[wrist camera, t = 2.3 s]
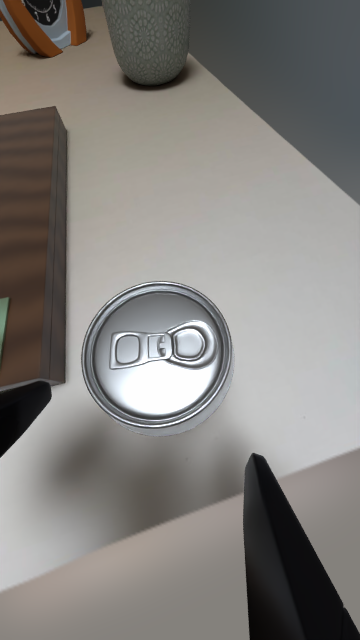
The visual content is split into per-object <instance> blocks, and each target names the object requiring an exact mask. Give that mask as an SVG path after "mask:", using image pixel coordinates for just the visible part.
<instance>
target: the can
mask: <svg viewBox="0 0 360 640" xmlns="http://www.w3.org/2000/svg"><path fill="white" fill-rule="evenodd" d="M81 364H82V372H83V377H84V380H85V383H86V386H87V388H88V390H89V392H90V394H91V396H92V397H93V399H94V400H95V402H96V403H97V404H98V405H99V406H100V407H101V408H102V409H103V410H104V411H105V412H106V413H107V414H108V415H109V416H110V417H111V418H112V419H113V420H114V421H115V422H117V423H118V424H120V425H121V426H123V427H124V428H126V429H128V430H130V431H133V432H136V433H139V434H142V435H148V436H170V435H175V434H179V433H183V432H185V431H188V430H190V429H192V428H194V427H196V426H198V425H199V424H201V423H202V422H203V421H205V420H206V419H207V418H208V417H209V416H211V415H212V414H213V412H214V411H215V410H216V409H217V408H218V407H219V405H220V404H221V402H222V401H223V399H224V397H225V395H226V394H227V391H228V389H229V387H230V384H231V380H232V376H233V371H234V351H233V346H232V342H231V336H230V332H229V329H228V326H227V323H226V321H225V319H224V317H223V315H222V314H221V312H220V311H219V309H218V308H217V307H216V306H215V304H214V303H213V302H212V301H211V300H210V299H208V298H207V297H206V296H205V295H203V294H202V293H200V292H199V291H197V290H195V289H193V288H191V287H189V286H186V285H183V284H179V283H175V282H167V281H155V282H147V283H143V284H139V285H136V286H133V287H131V288H128V289H126V290H124V291H122V292H121V293H119V294H117V295H116V296H115V297H113V298H112V299H111V300H109V301H108V302H107V303H106V304H105V305H104V306H103V307H102V308H101V309H100V311H99V312H98V313H97V314H96V316H95V317H94V319H93V320H92V322H91V324H90V326H89V328H88V330H87V332H86V335H85V338H84V342H83V347H82V355H81Z"/></svg>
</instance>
